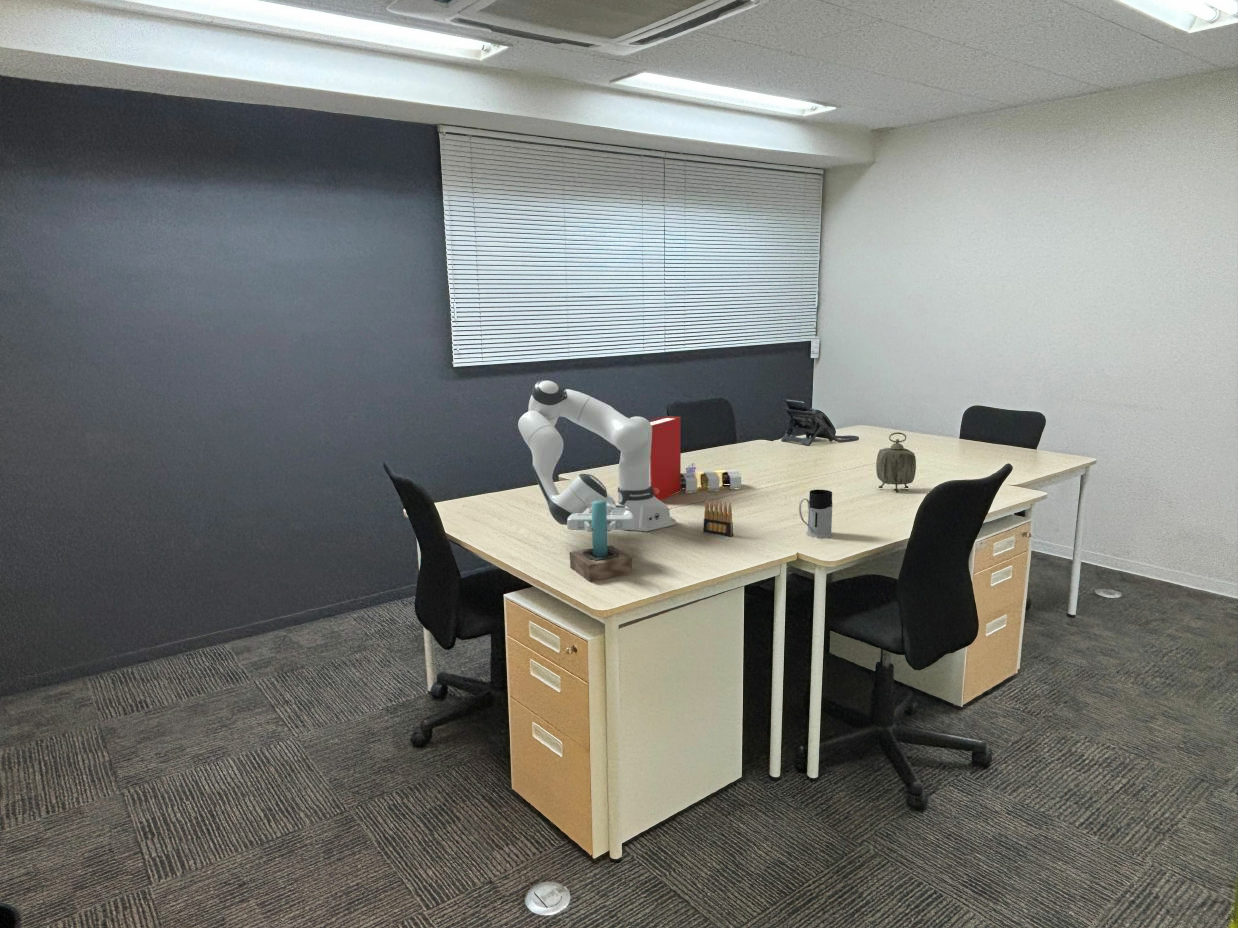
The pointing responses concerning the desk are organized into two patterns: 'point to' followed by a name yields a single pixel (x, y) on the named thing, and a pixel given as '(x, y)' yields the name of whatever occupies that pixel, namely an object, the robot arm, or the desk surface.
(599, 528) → the peg
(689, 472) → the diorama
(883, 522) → the desk surface
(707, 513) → the ammunition clip
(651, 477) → the book
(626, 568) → the socket block
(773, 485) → the desk surface
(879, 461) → the tabletop clock
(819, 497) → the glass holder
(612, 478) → the desk surface
